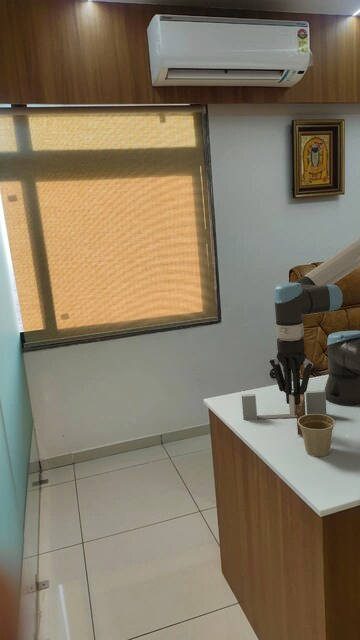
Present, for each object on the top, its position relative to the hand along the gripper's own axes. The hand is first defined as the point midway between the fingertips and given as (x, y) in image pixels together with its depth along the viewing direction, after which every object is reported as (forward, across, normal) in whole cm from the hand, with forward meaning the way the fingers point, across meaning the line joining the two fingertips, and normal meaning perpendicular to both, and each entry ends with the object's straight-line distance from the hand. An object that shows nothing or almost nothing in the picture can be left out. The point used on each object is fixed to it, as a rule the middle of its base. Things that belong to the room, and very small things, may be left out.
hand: (294, 414), depth 123 cm
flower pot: (+5, +10, -9) cm, 14 cm away
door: (+5, +1, +4) cm, 6 cm away
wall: (+5, -6, +7) cm, 11 cm away
